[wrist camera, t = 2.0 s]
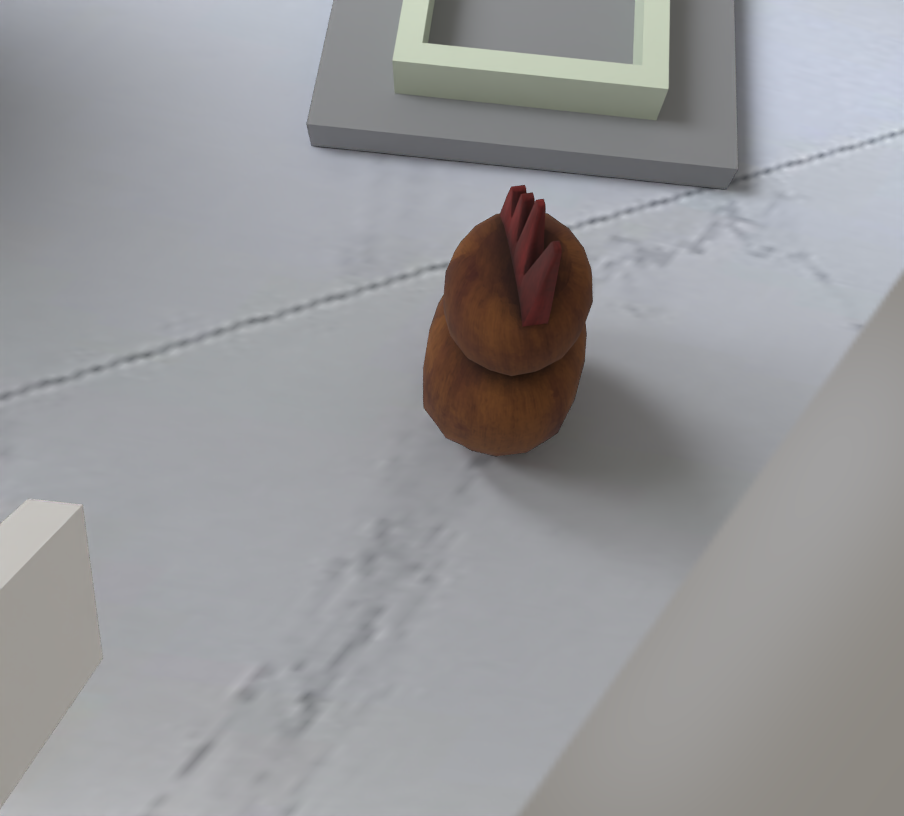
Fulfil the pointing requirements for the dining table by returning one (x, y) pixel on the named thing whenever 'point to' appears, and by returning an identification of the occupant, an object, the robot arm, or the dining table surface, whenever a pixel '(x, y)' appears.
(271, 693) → the dining table surface
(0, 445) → the dining table surface
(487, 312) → the wooden figurine
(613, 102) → the jig plate
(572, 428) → the dining table surface
